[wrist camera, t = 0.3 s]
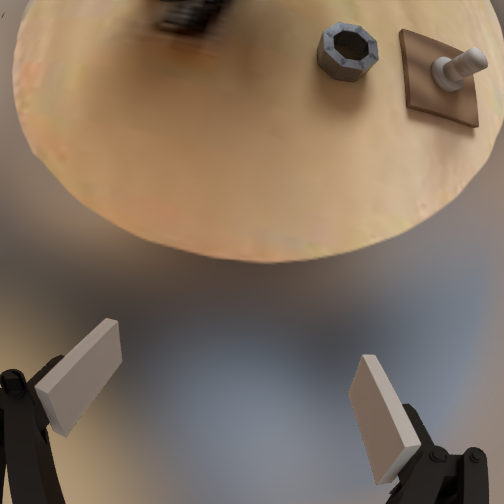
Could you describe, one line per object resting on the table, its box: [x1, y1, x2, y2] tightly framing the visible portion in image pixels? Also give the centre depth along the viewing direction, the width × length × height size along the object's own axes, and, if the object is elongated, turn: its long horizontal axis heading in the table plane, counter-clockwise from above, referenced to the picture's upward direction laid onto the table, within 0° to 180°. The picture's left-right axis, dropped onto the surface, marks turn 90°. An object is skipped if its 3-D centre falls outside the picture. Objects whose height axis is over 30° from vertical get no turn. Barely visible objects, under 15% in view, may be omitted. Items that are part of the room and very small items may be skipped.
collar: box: [318, 22, 379, 82], centre depth 31 cm, size 7×7×5 cm
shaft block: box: [399, 29, 488, 128], centre depth 27 cm, size 14×14×12 cm
